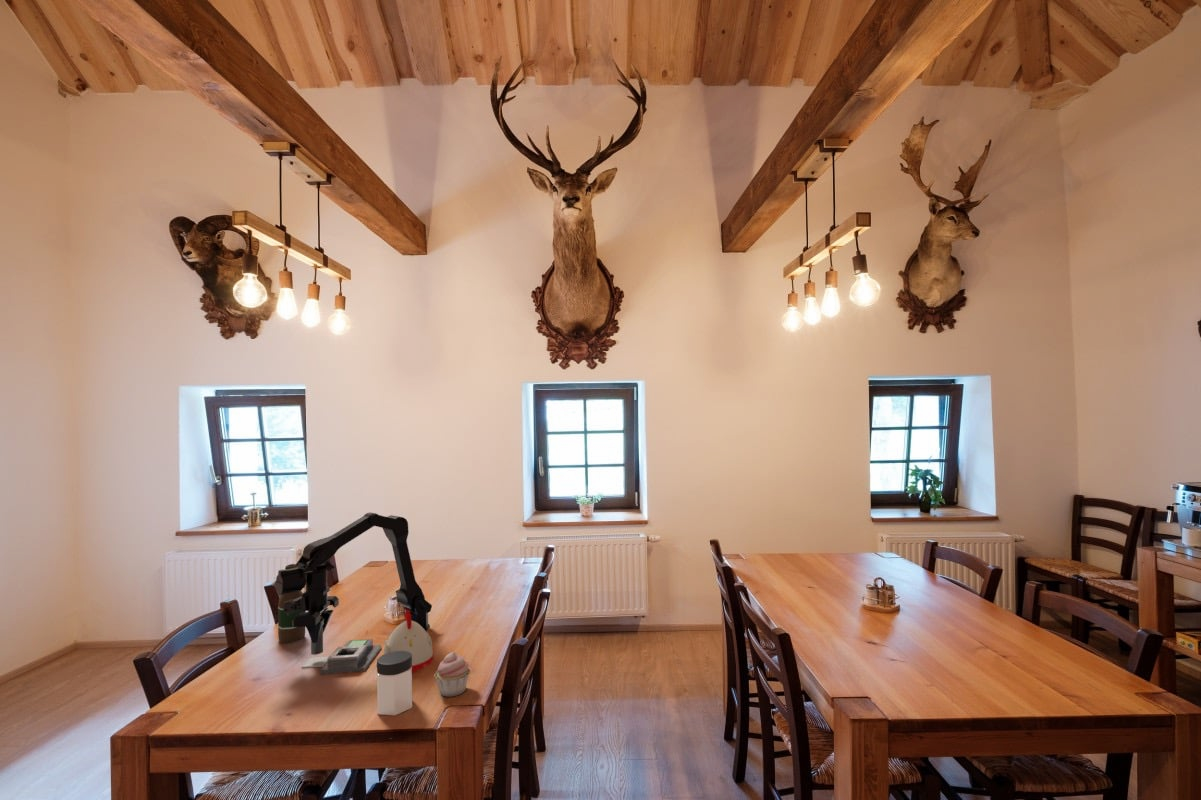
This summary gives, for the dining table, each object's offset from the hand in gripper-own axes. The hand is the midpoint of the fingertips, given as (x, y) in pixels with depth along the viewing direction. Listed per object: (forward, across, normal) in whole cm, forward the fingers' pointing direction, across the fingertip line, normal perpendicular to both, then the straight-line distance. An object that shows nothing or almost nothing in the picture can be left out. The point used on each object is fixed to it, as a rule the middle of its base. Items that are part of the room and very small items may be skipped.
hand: (317, 640), depth 163 cm
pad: (+6, 0, 0) cm, 7 cm away
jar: (+7, +30, +30) cm, 43 cm away
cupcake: (+7, +24, +43) cm, 50 cm away
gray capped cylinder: (+4, 0, 0) cm, 4 cm away
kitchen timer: (+7, +4, +27) cm, 28 cm away
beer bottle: (+7, -21, -16) cm, 27 cm away
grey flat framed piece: (+6, 0, +10) cm, 12 cm away
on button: (+5, -4, +10) cm, 12 cm away
